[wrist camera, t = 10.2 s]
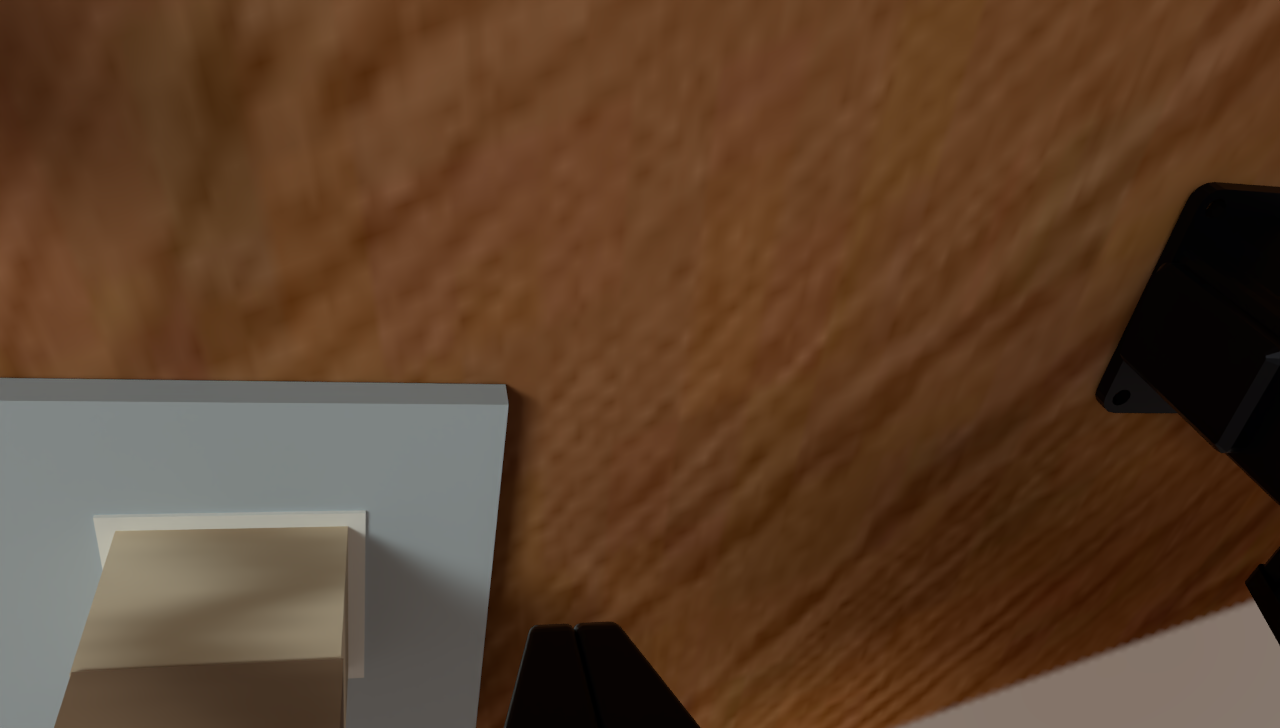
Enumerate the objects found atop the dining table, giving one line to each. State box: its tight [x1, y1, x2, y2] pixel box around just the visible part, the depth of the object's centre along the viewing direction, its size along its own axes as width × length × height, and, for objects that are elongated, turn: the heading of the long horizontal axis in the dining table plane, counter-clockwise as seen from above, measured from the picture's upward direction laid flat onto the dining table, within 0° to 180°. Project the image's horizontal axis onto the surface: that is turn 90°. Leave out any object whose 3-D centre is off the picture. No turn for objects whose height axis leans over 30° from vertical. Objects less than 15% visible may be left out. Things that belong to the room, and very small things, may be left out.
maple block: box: [69, 526, 348, 728], centre depth 23 cm, size 5×5×4 cm
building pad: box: [0, 378, 509, 728], centre depth 25 cm, size 12×12×1 cm
